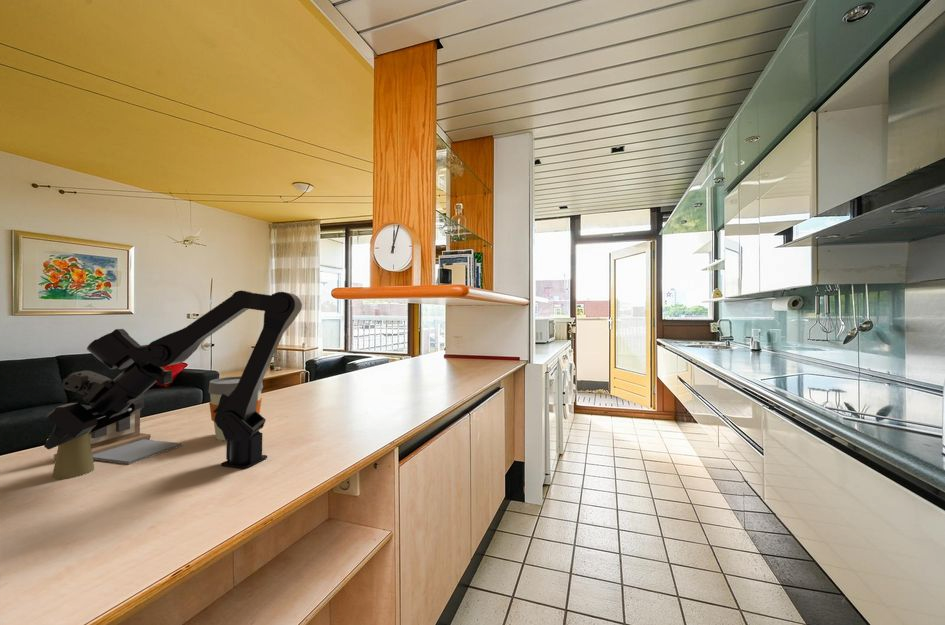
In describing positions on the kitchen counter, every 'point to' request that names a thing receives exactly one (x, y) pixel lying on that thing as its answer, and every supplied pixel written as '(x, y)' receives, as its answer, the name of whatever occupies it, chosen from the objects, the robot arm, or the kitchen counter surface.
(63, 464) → the cork
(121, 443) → the switch panel
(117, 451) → the mat
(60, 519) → the kitchen counter surface
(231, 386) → the reusable coffee cup
